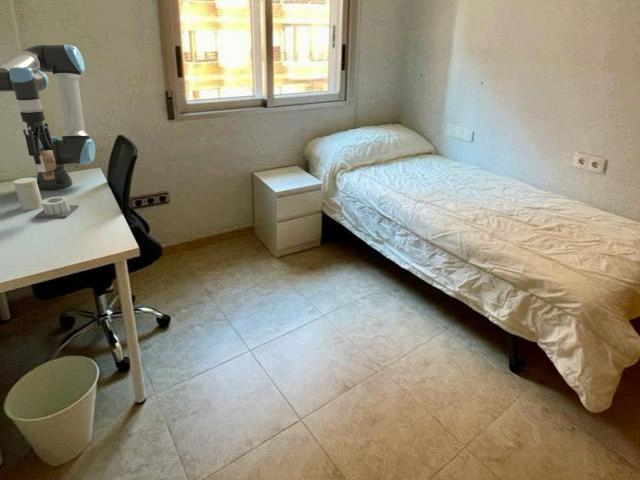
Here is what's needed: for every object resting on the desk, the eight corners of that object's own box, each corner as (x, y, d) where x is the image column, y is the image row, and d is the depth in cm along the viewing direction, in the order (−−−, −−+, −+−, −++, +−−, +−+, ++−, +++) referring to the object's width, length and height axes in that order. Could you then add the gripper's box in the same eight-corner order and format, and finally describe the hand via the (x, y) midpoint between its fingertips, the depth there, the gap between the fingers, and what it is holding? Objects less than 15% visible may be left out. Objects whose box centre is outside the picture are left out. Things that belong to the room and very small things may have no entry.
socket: (50, 207, 190) (47, 195, 188) (78, 207, 191) (75, 195, 188) (35, 218, 179) (32, 205, 177) (65, 217, 180) (62, 205, 177)
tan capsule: (44, 176, 181) (37, 149, 177) (62, 176, 182) (55, 149, 177) (36, 181, 175) (28, 154, 170) (54, 181, 176) (47, 154, 171)
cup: (33, 211, 186) (25, 184, 181) (16, 209, 188) (8, 182, 182) (47, 204, 193) (40, 178, 188) (31, 202, 195) (24, 176, 190)
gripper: (34, 106, 176) (49, 162, 185) (5, 115, 158) (23, 176, 168) (54, 106, 176) (67, 162, 186) (27, 115, 158) (44, 176, 168)
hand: (46, 168), depth 177 cm, fingers closed on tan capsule, 7 cm apart
